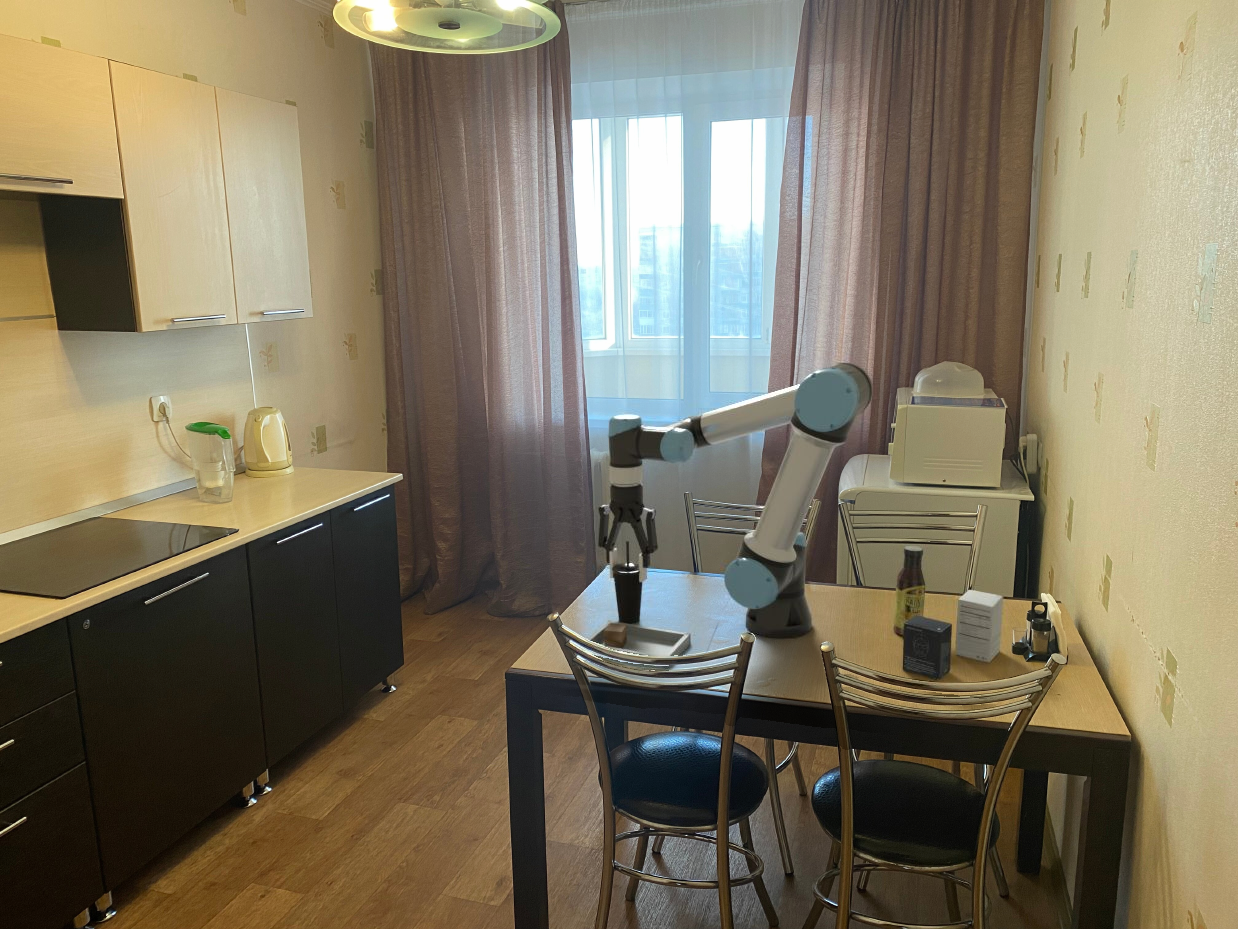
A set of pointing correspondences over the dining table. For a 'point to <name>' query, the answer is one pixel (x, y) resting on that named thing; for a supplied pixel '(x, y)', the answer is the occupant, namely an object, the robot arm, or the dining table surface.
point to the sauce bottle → (909, 589)
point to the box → (927, 647)
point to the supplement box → (979, 625)
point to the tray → (648, 640)
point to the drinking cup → (628, 590)
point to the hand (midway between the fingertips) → (628, 578)
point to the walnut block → (615, 635)
